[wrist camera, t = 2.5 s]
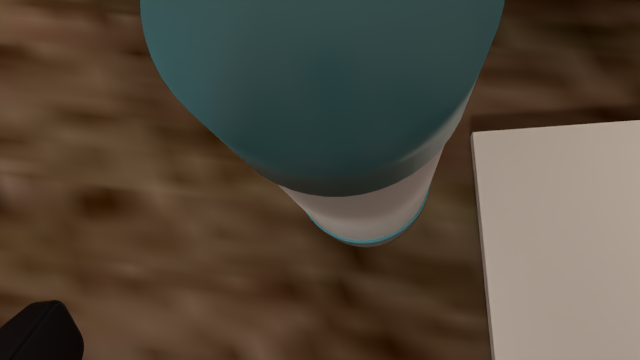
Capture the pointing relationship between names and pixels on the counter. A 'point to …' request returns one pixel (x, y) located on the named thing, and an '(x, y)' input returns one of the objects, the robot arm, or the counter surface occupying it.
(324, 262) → the counter surface
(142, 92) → the counter surface
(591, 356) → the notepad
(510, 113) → the counter surface
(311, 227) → the counter surface
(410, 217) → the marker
